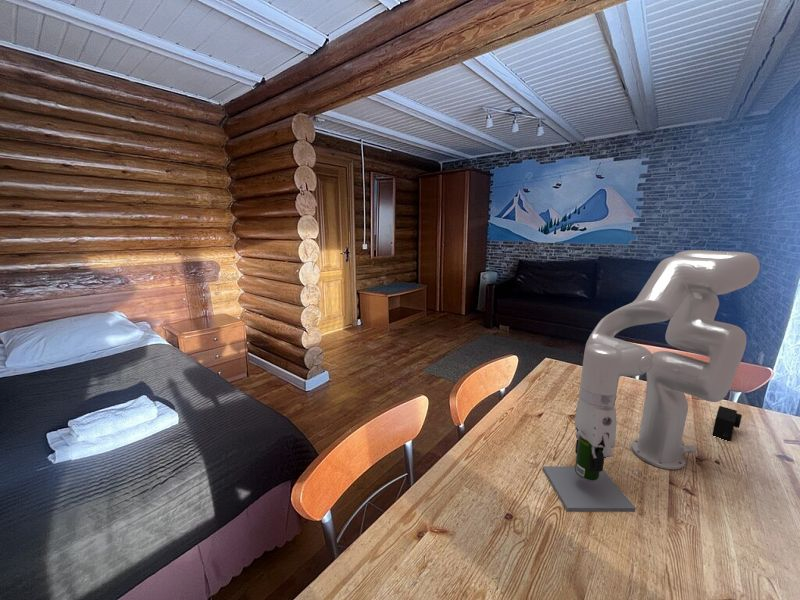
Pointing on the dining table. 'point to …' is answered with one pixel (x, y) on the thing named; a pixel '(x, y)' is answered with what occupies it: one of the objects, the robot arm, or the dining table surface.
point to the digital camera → (726, 423)
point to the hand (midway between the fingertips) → (588, 461)
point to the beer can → (585, 459)
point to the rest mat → (587, 491)
